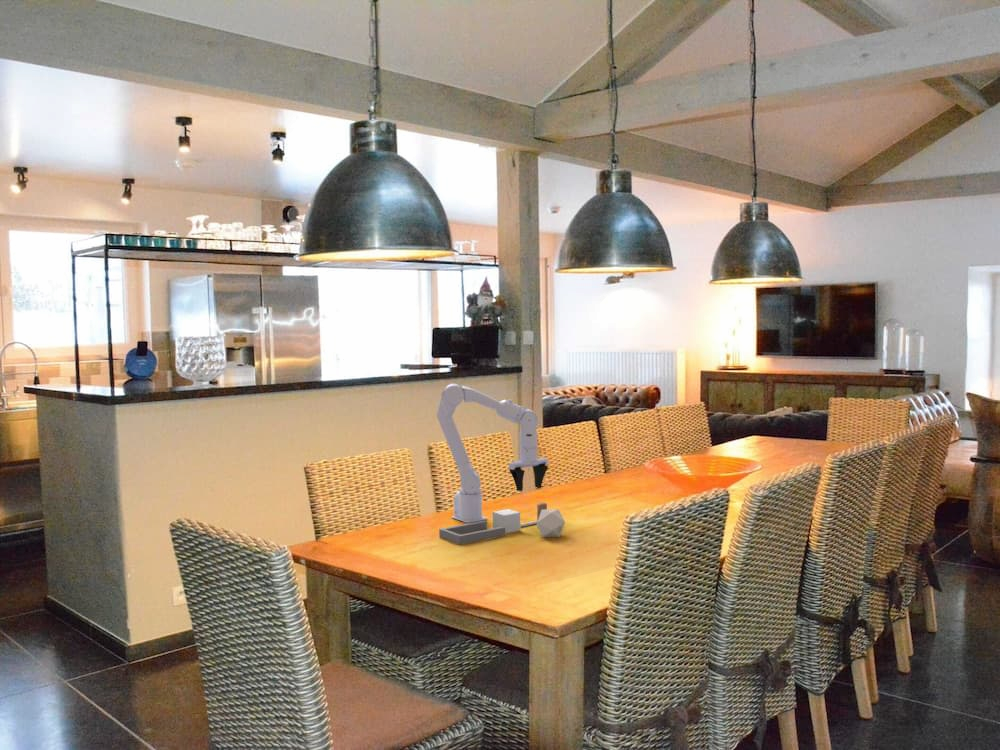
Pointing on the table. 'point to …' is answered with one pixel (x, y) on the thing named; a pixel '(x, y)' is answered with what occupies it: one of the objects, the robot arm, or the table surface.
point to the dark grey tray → (470, 533)
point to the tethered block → (513, 518)
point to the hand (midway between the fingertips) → (528, 489)
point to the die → (550, 523)
